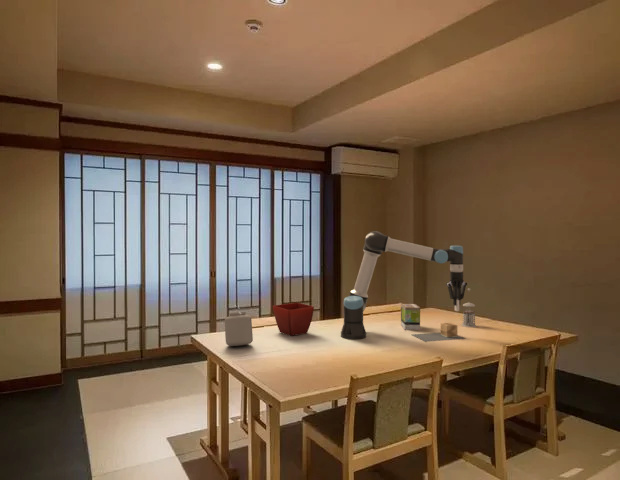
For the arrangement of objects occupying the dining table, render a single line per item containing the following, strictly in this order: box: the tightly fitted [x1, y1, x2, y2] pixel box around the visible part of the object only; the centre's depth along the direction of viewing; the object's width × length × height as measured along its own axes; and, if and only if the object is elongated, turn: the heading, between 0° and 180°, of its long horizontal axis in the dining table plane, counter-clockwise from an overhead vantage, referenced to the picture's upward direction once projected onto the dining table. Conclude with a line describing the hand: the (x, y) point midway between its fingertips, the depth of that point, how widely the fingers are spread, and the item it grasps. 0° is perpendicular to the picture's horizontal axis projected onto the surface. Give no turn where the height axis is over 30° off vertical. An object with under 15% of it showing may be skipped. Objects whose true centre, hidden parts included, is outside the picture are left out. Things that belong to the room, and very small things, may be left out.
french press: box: [460, 288, 477, 328], centre depth 299 cm, size 10×12×25 cm
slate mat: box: [411, 332, 467, 343], centre depth 268 cm, size 26×18×1 cm
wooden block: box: [440, 322, 458, 337], centre depth 269 cm, size 7×7×7 cm
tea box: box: [400, 303, 421, 331], centre depth 294 cm, size 15×10×15 cm
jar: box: [224, 305, 254, 347], centre depth 249 cm, size 19×15×25 cm
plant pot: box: [272, 302, 315, 337], centre depth 279 cm, size 19×19×17 cm
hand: (456, 310), depth 270 cm, fingers closed
